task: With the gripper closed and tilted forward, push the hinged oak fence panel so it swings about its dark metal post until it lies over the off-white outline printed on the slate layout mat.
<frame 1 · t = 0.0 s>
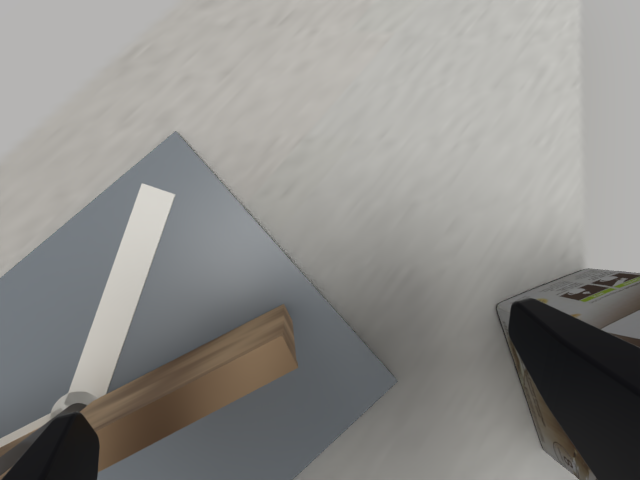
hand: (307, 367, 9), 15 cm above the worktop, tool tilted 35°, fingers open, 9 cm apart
coffee box: (563, 359, 25), on the worktop
fence fixed: (82, 414, 23), resting on layout mat
fence panel: (173, 386, 18), point 5 cm above the worktop, hinge at 0.0°
layout mat: (125, 402, 23), on the worktop
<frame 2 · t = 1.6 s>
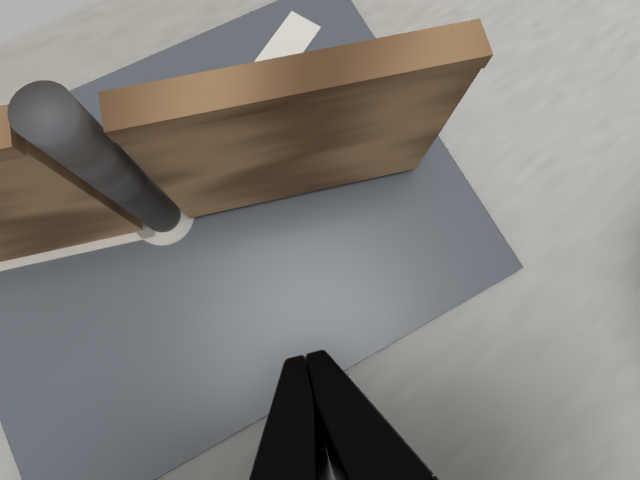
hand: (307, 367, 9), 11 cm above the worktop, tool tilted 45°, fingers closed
fence fixed: (166, 218, 21), resting on layout mat
fence panel: (302, 142, 16), point 5 cm above the worktop, hinge at 0.0°
layout mat: (214, 217, 21), on the worktop
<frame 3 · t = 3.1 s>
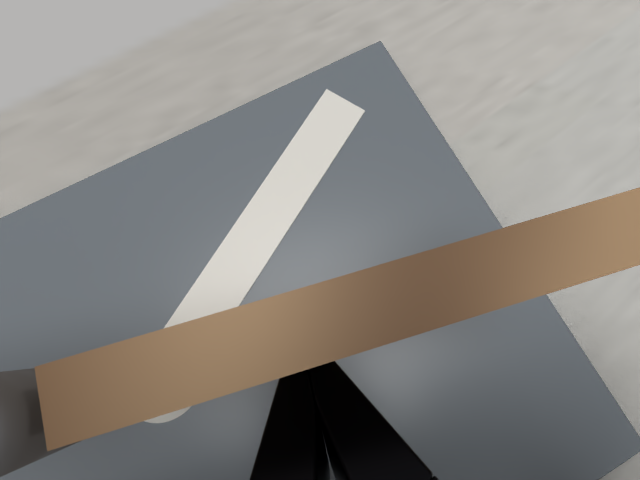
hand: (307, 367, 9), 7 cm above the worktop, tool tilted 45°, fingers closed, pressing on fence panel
fence fixed: (164, 378, 15), resting on layout mat
fence panel: (359, 315, 11), point 5 cm above the worktop, hinge at 3.1°, touching gripper
layout mat: (228, 375, 15), on the worktop
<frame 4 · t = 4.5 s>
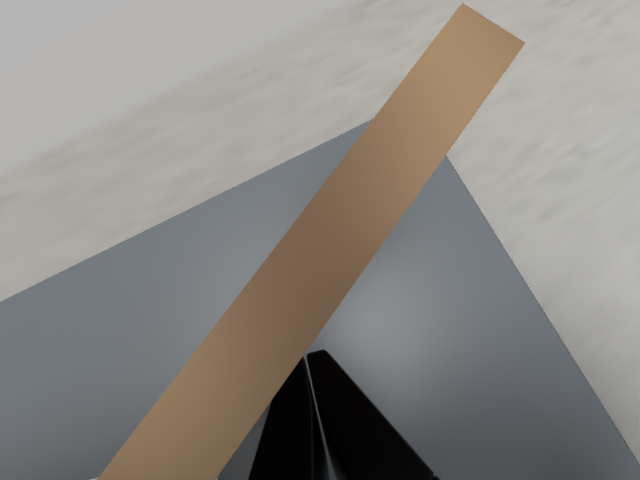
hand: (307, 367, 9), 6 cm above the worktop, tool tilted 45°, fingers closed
fence panel: (297, 309, 10), point 5 cm above the worktop, hinge at 40.6°, touching gripper
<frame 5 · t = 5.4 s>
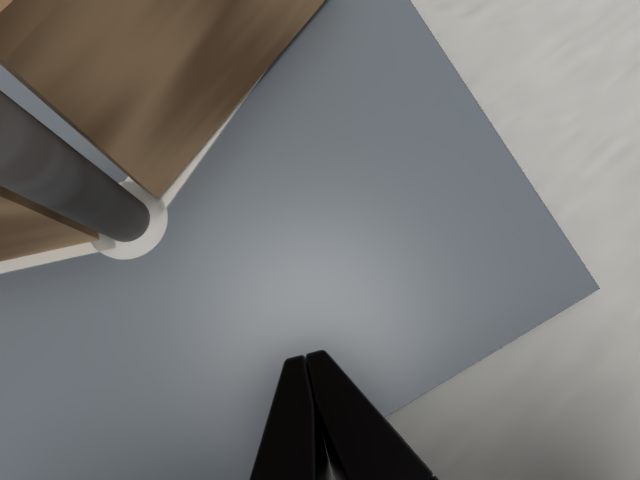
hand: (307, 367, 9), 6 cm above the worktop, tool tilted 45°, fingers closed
fence fixed: (132, 223, 16), resting on layout mat
layout mat: (195, 221, 16), on the worktop
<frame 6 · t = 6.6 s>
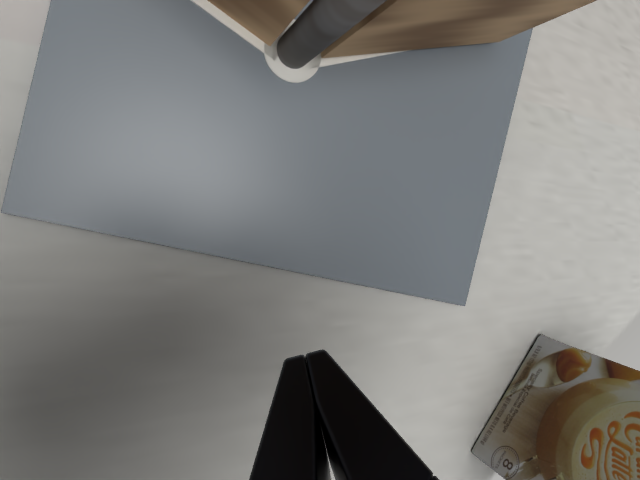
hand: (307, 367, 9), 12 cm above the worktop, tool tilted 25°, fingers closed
coffee box: (528, 409, 29), on the worktop
fence fixed: (290, 54, 21), resting on layout mat
fence panel: (476, 5, 18), point 5 cm above the worktop, hinge at 40.6°
layout mat: (322, 89, 21), on the worktop
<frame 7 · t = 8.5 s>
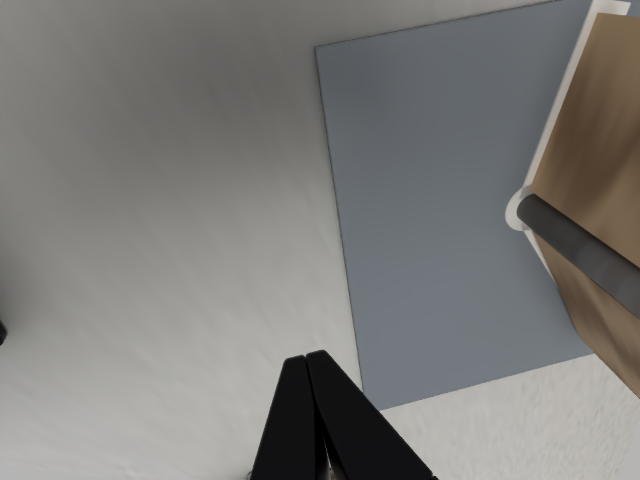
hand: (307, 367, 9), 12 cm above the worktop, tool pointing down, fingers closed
fence fixed: (525, 203, 23), resting on layout mat
fence panel: (622, 337, 22), point 5 cm above the worktop, hinge at 40.6°
layout mat: (504, 238, 24), on the worktop
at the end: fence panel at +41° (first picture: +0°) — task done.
